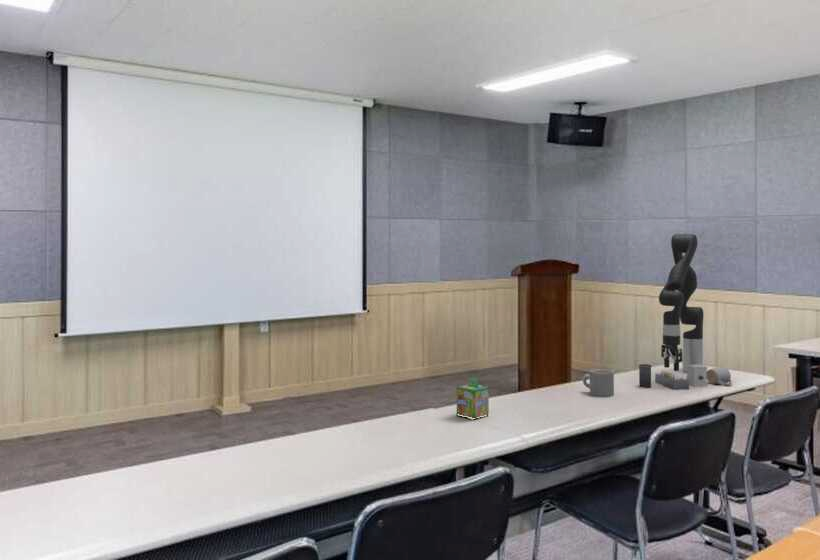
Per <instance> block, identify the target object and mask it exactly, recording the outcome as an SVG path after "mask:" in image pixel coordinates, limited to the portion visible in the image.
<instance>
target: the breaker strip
mask: <svg viewBox="0 0 820 560" xmlns="http://www.w3.org/2000/svg"><path fill="white" fill-rule="evenodd" d="M654 374H655V377H654V382H655V383H657V384H659V385H661V386H664V387H666V388H668V389H672V390H673V389H674V390H676V391H677V390H689V389H690V388H689V387H690V385H689V380H687V378H685V377H684V378H683V377H681V376H680V375H677V374H674V373H671V372H668V371H666V370H660V373H654Z"/></svg>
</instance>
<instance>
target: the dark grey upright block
mask: <svg viewBox="0 0 820 560" xmlns="http://www.w3.org/2000/svg"><path fill="white" fill-rule="evenodd" d="M638 368H639V370H638V374H639V375H638V378H639V380H638V381H639V385H638V386H639V388H641V387H643V388H642V389H651V388H652V365H651V364H648V363H647V364H646V363H641V364H638Z"/></svg>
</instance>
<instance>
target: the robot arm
mask: <svg viewBox="0 0 820 560" xmlns="http://www.w3.org/2000/svg"><path fill="white" fill-rule="evenodd" d="M670 245H671V251H672V256H673V261H674V266H673V267H672V268H671V269H670V272H669V274H668V278H667V281H666V283H665V285H664V286H663V288H662V290H661V291H660V293H659V296H658V302H659V304H660V305H661V306H663V307H664V306H665V307H673V309H672V310H667V311H664V312H663V314H662V315H663V317H662V318H663V319H662V322H663V323H662V344H661V349H660V351H661V353H660V357H661V358H662V359H663V367H664V368H665V369H666V368H670V358H671V359H672V361H673V371H674V372H679V371H680V363H681V364H682V365H681V366H682V367H681V368H682V370H681V371H683V372H684V373H687V367H686V365H698V364H700V365H703V366H704V360H703V359H704V354H703V353H704V350H703V349H704V344H703V343H704V340H703V337H704V334H703V332H704V328H703V326H704V308H702V307H701V306H687V304H688V302H689V300H690V298H691V297H692V295H694V293H695V291H696V290H697V288H698V279H697V273H696V271H695V270H694V268H693V267H692V266H691V263H692V261H693V258H694V256H695V253H696V251H697V249H698V237H697V235H696V234H694V233H675V234H673V235H672V237H671V239H670ZM683 254H684V255H683ZM680 323H681V324H680ZM681 325H689V326H695V327H694V328H692V329H690V330H687V331H684V332H683V333H682V348H678V346H679V345H681Z"/></svg>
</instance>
